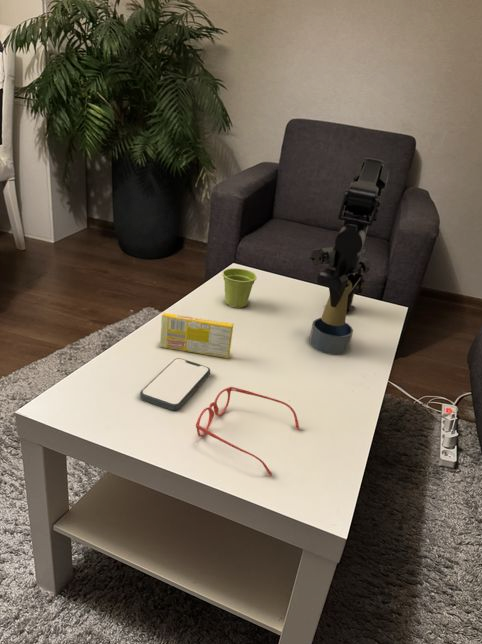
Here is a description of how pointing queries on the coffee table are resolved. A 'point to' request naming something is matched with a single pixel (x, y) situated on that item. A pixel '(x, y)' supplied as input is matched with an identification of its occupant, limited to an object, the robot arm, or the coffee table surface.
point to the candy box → (196, 335)
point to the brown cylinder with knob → (337, 310)
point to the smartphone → (175, 384)
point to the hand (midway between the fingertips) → (337, 303)
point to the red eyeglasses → (216, 409)
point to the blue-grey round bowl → (330, 337)
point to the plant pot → (238, 286)
